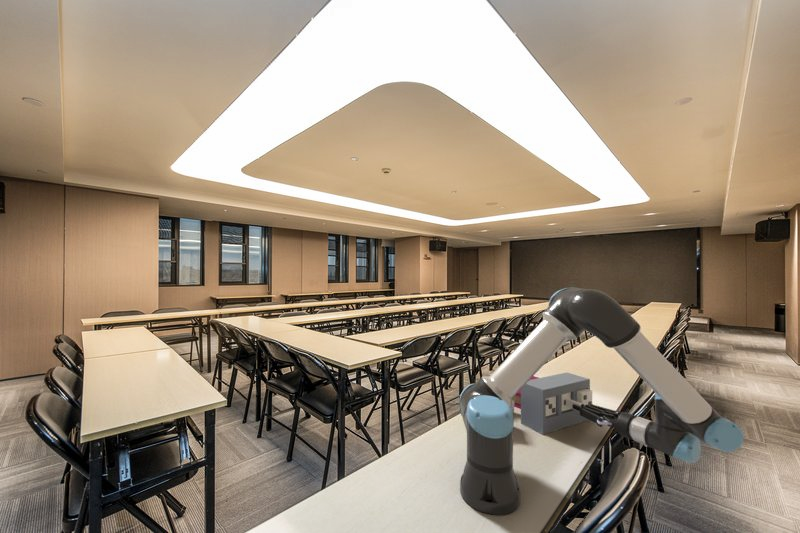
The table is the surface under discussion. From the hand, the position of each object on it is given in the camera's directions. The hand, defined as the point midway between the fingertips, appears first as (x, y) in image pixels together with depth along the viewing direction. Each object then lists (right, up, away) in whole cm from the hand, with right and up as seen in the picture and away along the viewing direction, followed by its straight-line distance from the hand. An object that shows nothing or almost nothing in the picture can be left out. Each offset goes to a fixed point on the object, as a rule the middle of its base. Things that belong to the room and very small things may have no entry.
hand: (567, 402), depth 124 cm
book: (-4, -10, +27) cm, 29 cm away
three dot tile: (-9, -3, -3) cm, 10 cm away
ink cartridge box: (-22, -9, +10) cm, 26 cm away
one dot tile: (-1, -3, +1) cm, 4 cm away
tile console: (-3, -9, +4) cm, 10 cm away
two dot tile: (+8, -3, +3) cm, 9 cm away
